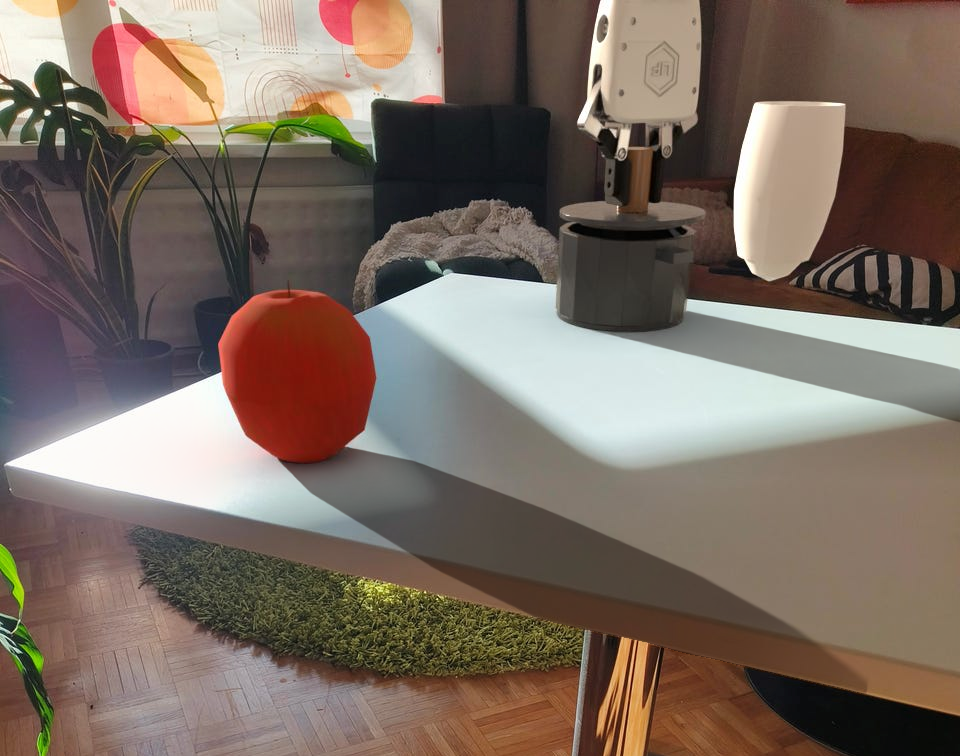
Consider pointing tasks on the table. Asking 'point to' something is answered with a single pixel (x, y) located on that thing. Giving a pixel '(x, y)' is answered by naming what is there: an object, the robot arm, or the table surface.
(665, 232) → the pot
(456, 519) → the table surface
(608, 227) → the lid
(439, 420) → the table surface
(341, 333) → the apple
